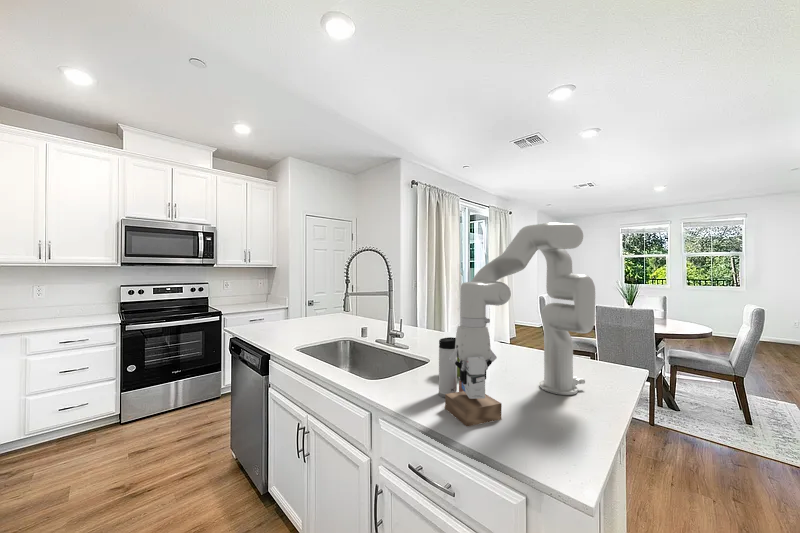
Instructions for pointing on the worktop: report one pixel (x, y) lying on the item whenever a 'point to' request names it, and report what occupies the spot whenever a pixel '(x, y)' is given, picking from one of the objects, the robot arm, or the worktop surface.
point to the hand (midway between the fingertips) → (472, 381)
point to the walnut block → (472, 408)
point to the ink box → (475, 378)
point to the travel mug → (447, 367)
